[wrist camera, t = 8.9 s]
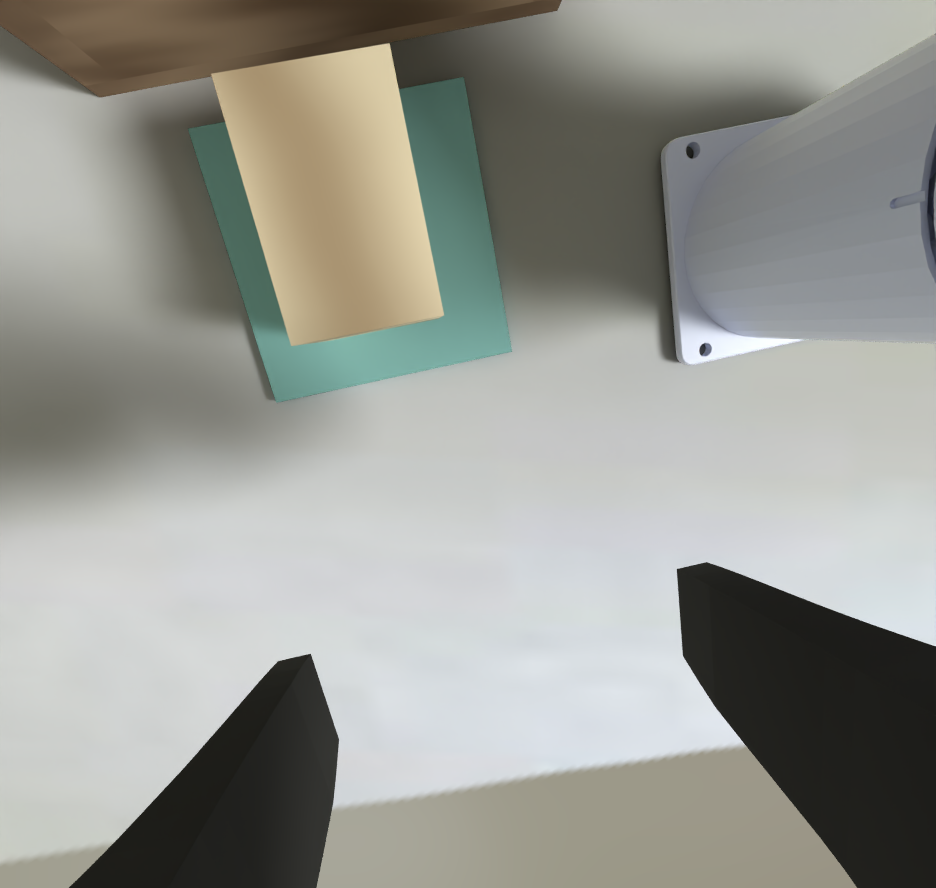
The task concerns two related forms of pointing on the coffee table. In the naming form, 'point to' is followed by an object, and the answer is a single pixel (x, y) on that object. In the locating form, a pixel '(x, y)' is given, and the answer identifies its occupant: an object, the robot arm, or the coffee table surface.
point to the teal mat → (451, 240)
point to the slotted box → (226, 32)
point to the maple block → (333, 192)
